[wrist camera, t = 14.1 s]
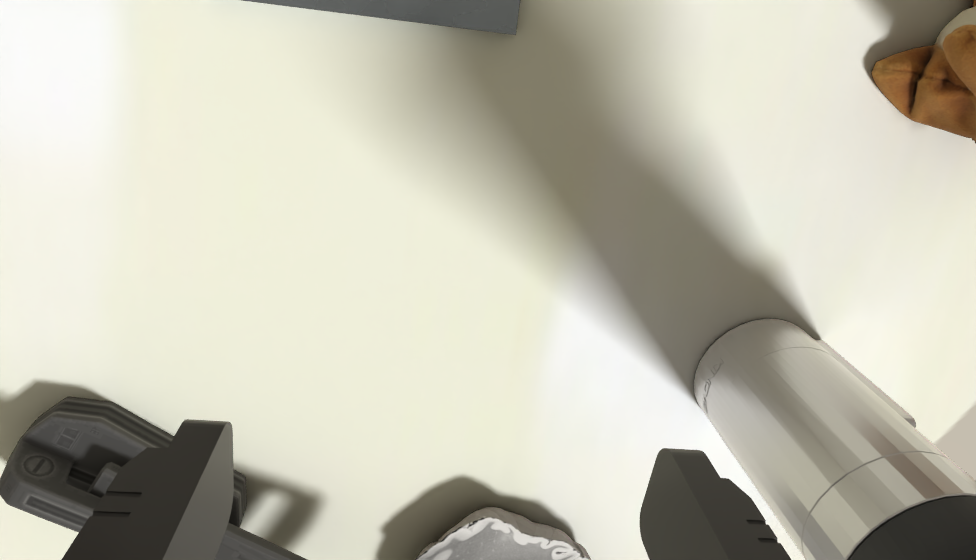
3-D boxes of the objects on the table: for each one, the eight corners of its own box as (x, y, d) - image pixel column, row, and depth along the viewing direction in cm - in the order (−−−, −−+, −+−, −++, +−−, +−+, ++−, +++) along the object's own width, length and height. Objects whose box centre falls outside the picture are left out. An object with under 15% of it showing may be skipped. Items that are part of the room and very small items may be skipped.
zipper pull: (319, 677, 46) (-58, 549, 37) (329, 597, 52) (6, 471, 43) (388, 600, 43) (2, 445, 35) (390, 525, 49) (61, 377, 41)
